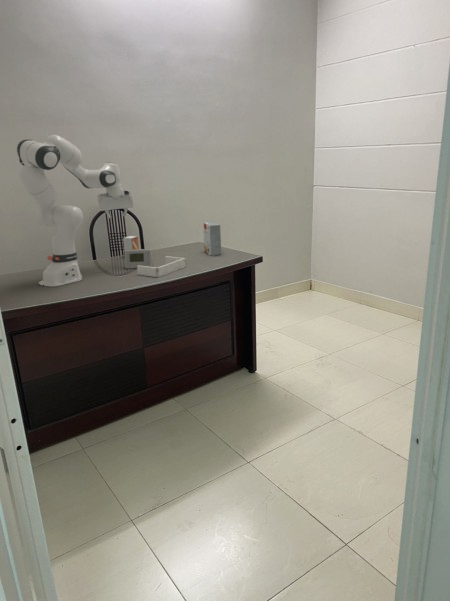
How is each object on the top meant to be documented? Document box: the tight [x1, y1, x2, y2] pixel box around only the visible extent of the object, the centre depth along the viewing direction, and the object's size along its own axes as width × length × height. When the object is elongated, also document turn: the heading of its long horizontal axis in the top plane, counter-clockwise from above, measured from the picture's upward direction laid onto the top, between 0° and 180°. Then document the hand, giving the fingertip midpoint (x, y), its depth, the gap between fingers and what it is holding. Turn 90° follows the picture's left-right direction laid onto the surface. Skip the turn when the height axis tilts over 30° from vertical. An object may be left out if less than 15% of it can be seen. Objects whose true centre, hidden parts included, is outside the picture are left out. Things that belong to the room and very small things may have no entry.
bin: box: [136, 255, 187, 278], centre depth 240 cm, size 26×14×5 cm, turn 150°
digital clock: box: [124, 248, 154, 270], centre depth 248 cm, size 16×9×11 cm, turn 84°
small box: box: [122, 235, 140, 252], centre depth 277 cm, size 8×6×13 cm
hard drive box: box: [202, 221, 222, 256], centre depth 280 cm, size 16×8×20 cm, turn 17°
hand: (117, 217), depth 245 cm, fingers open, 8 cm apart
